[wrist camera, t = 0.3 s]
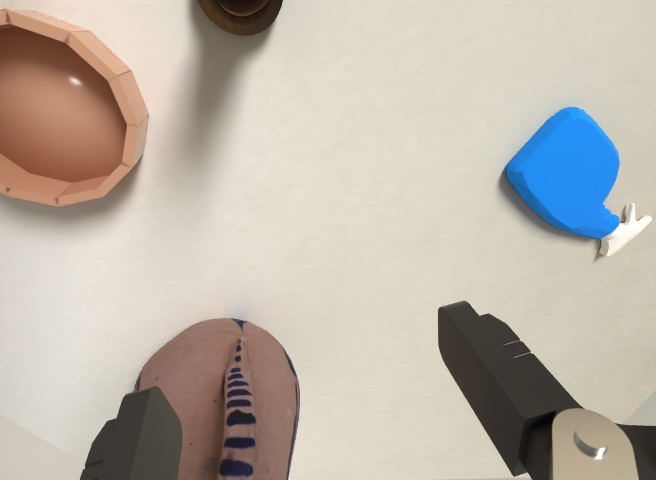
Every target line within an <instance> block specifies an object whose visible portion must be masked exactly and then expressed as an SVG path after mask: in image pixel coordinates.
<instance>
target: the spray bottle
mask: <svg viewBox="0 0 656 480" xmlns="http://www.w3.org/2000/svg"><path fill="white" fill-rule="evenodd" d="M619 164H620V162H619V155H618V152H617V150H616V148H615V146H614V144H613V143H612V142H611V140H610V139H609V138H608V137H607V135H606V134H605V133H604V132H603V130H602V129H601V128H600V127H599V126H598V124H597V123H596V122H595V121H594V120H593V119H592V118H591V117H590V116H589V115H588V114H587V113H586V112H585V111H584V110H582V109H579V108H576V107H568V108H565V109H562V110H560V111H559V112H558V113H556V114H555V115H554V116H552V117H551V118H550V119H549V120H548V121H547V122H546V123H545V124H544V125H543V126H542V127H541V128H540V129H539V130H538V131H537V132H536V134H535V135H534V136H533V137H532V138H531V139H530V140H529V141H528V142H527V143H526V144H525V145H524V147H523V148H522V149H521V150H520V151H519V152H518V153H517V154H516V155H515V156H514V157H513V158H512V160H511V161H510V162H509V163H508V165H507V177H508V179H509V180H510V182H511V183H512V185H513V186H514V188H515V189H516V191H517V192H518V194H519V195H520V196H521V197H522V198H523V200H524V201H525V202H526V203H527V204H528V205H529V206H530V207H531V208H532V209H533V210H534V211H535V212H536V213H537V214H538V215H540V216H541V217H542V218H543V219H544V220H545V221H547V222H548V223H550V224H552V225H553V226H555V227H557V228H560V229H563V230H565V231H568V232H571V233H573V234H576V235H581V236H586V237H590V238H595V239H601V248H600V251H599V253H601V254H603V255H604V256H606V257H608V256H610V255H612V254H614V253H616V252H617V251H618V250H620V249H621V248H622V247H623V246H624V245H625V244H627V243H628V242H629V241H630V240H631V239H632V238H634V237H635V236H636V235H637V234H638V233H639V232H640V231H642V230H643V229H644V228H645V226H646V225H647V224H648V223H650V222H651V221H652V220H653V219H652V218H651V217H650V216H648V215H645V216H644V217H642V218H641V219H640V220H638V221H636V219H635V204H633V203H632V204H630V207H629V210H628V214H627V218H626V222H624V223H620V221H619V217H618V216H616V215H611V212H610V211H609V210H608V209H605V206H604V205H603V204H602V203H603V202H604V200H605V199H606V197H607V196H608V194H609V192H610V190H611V189H612V187H613V185H614V183H615V181H616V177H617V173H618V169H619Z"/></svg>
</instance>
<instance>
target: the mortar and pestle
mask: <svg viewBox="0 0 656 480" xmlns="http://www.w3.org/2000/svg"><path fill="white" fill-rule="evenodd" d="M198 2H199V4H200V6H201V8H202V9H203V11H204V13H205V14H206V15H207V16H208V18H209V19H210V20H211V21H212V22H213V23H215V24H216V25H217V26H218V27H220V28H222V29H223V30H225V31H227V32H230V33H233V34H236V35H253V34H256V33H259V32H261V31H263V30H265V29H266V28H267V27H268V26H270V25H271V24H272V23H273V21H274V20H275V19H276V17H277V15H278V13H279V11H280V9H281V6H282V2H283V0H198Z"/></svg>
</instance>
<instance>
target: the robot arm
mask: <svg viewBox="0 0 656 480" xmlns="http://www.w3.org/2000/svg"><path fill="white" fill-rule="evenodd" d="M438 344H439V350H440V353H441V356H442V359H443V361H444V363H445V365H446V366H447V368H448V370H449V371H450V373H451V375H452V376H453V378H454V380H455V381H456V383H457V385H458V386H459V388H460V389H461V391H462V393H463V394H464V396H465V398H466V399H467V401H468V403H469V404H470V406H471V408H472V409H473V411H474V412H475V414H476V416H477V417H478V419H479V421H480V422H481V424H482V426H483V427H484V429H485V431H486V432H487V434H488V435H489V437H490V439H491V440H492V442H493V444H494V445H495V447H496V449H497V450H498V452H499V454H500V455H501V457H502V458H503V460H504V462H505V463H506V465H507V467H508V468H509V470H510V472H511V473H512V475H513V477H515V476H518V475H521V474H524V473H527V472H528V474H529V475H530V477H531V478H532V480H656V426H637V425H621V424H617V423H614V422H612V421H611V420H609V419H608V418H606V417H605V416H603V415H601V414H599V413H596V412H594V411H590V410H587V409H584V408H583V407H582V406H580V405H579V404H578V403H577V402H576V401H575V400H574V399H573V398H572V396H571V395H570V394H569V393H568V392H567V391H566V390H565V389H564V387H563V386H562V385H561V384H560V383H559V382H558V381H557V380H556V379H555V377H554V376H553V375H552V374H551V373H550V372H549V371H548V370H547V369H546V367H545V366H544V365H543V364H542V363H541V362H540V361H539V360H538V358H537V357H536V356H535V355H534V354H532V353H531V351H530V350H529V348H528V347H527V346H526V345H525V344H524V343H523V342H521V341H520V338H519V337H518V336H517V335H516V334H515V333H514V332H513V331H512V329H511V328H510V327H509V326H508V325H507V324H506V323H504V322H502V321H501V320H499V319H497V318H496V317H494V316H492V315H490V314H489V313H488V314H485V315H481V316H479V315H478V314H477V313H476V311H475V310H474V309H473V308H472V307H471V305H470V304H469V303H468V302H466V301H461V302H457V303H454V304H450V305H446V306H443V307H440V308H439V309H438ZM182 440H183V433H182V426H181V422H180V419H179V417H178V416H177V414H176V413H175V411H174V409H173V408H172V406H171V405H170V403H169V402H168V400H167V398H166V397H165V395H164V394H163V392H162V391H161V389H160V388H159V387H158V386H154V387H150V388H146V389H143V390H139V391H136V392H132V393H129V394H126V395H125V396H124V398H123V400H122V403H121V406H120V409H119V412H118V416H117V418H116V419H113V420H109V421H107V422H106V424H105V425H104V427H103V428H102V430H101V431H100V433H99V434H98V435H97V437H96V438H95V440H94V441H93V443H92V446H91V449H90V452H89V454H88V457H87V460H86V463H85V469H83V472H82V475H81V477H80V480H177V479H178V471H179V464H180V456H181V449H182Z"/></svg>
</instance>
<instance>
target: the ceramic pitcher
mask: <svg viewBox="0 0 656 480" xmlns="http://www.w3.org/2000/svg"><path fill="white" fill-rule="evenodd" d="M154 386H158V387H159V388H160V389H161V391H162V392H163V394H164V395H165V397H166V398H167V400H168V402H169V403H170V405H171V406H172V408H173V409H174V411H175V413H176V414H177V416H178V417H179V419H180V422H181V426H182V433H183V440H182V449H181V456H180V464H179V471H178V479H177V480H288V477H289V472H290V466H291V461H292V455H293V450H294V444H295V440H296V433H297V427H298V421H299V409H300V390H299V383H298V379H297V375H296V372H295V370H294V367H293V365H292V362H291V359H290V358H289V356H288V355H287V353H286V351H285V350H284V348H283V347H282V345H281V344H280V343H279V342H278V341H277V340H276V339H275V338H274V337H273V336H272V335H271V334H270V333H268V332H267V331H265V330H264V329H262V328H260V327H258V326H256V325H254V324H252V323H250V322H248V321H241V320H238V319H233V318H232V319H226V318H221V319H211V320H207V321H202V322H199V323H197V324H195V325H192V326H190V327H189V328H187V329H186V330H184V331H183V332H182V333H180V334H179V335H178V336H176V337H175V338H174V339H172V340H171V341H169V342H168V343H167V344H166V345H164V346H163V347H162V348H161V349H159V350H158V351H157V352H156V353H155V354H154V355H153V356H152V357H151V358H150V359H149V361H148V362H147V363H146V364H145V366H144V367H143V369H142V371H141V373H140V375H139V377H138V379H137V382H136V384H135V387H134V391H133V392H136V391H139V390H143V389H146V388H150V387H154Z"/></svg>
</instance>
